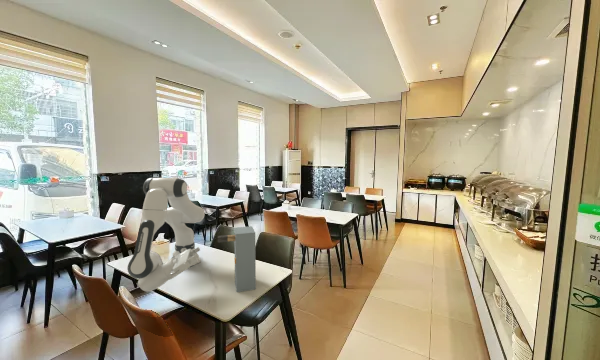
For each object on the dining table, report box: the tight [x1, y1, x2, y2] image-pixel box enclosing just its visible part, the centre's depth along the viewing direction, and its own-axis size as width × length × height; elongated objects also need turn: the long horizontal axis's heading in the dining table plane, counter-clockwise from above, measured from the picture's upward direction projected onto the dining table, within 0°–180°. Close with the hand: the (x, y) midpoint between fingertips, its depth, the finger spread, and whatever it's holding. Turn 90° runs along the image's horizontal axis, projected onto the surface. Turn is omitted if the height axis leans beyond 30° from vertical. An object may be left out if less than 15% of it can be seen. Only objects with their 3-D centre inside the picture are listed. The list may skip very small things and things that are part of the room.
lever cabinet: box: [233, 226, 257, 293], centre depth 135 cm, size 13×11×31 cm
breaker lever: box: [217, 234, 235, 244], centre depth 132 cm, size 3×16×3 cm, turn 109°
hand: (198, 251), depth 127 cm, fingers open, 8 cm apart
